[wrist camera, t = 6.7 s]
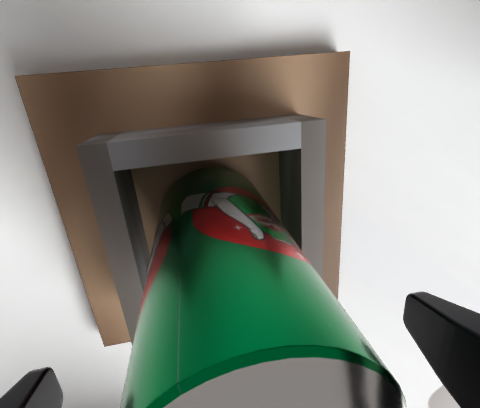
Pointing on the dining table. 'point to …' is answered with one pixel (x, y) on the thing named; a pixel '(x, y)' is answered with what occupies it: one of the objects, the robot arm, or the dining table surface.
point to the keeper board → (187, 157)
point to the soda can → (242, 313)
